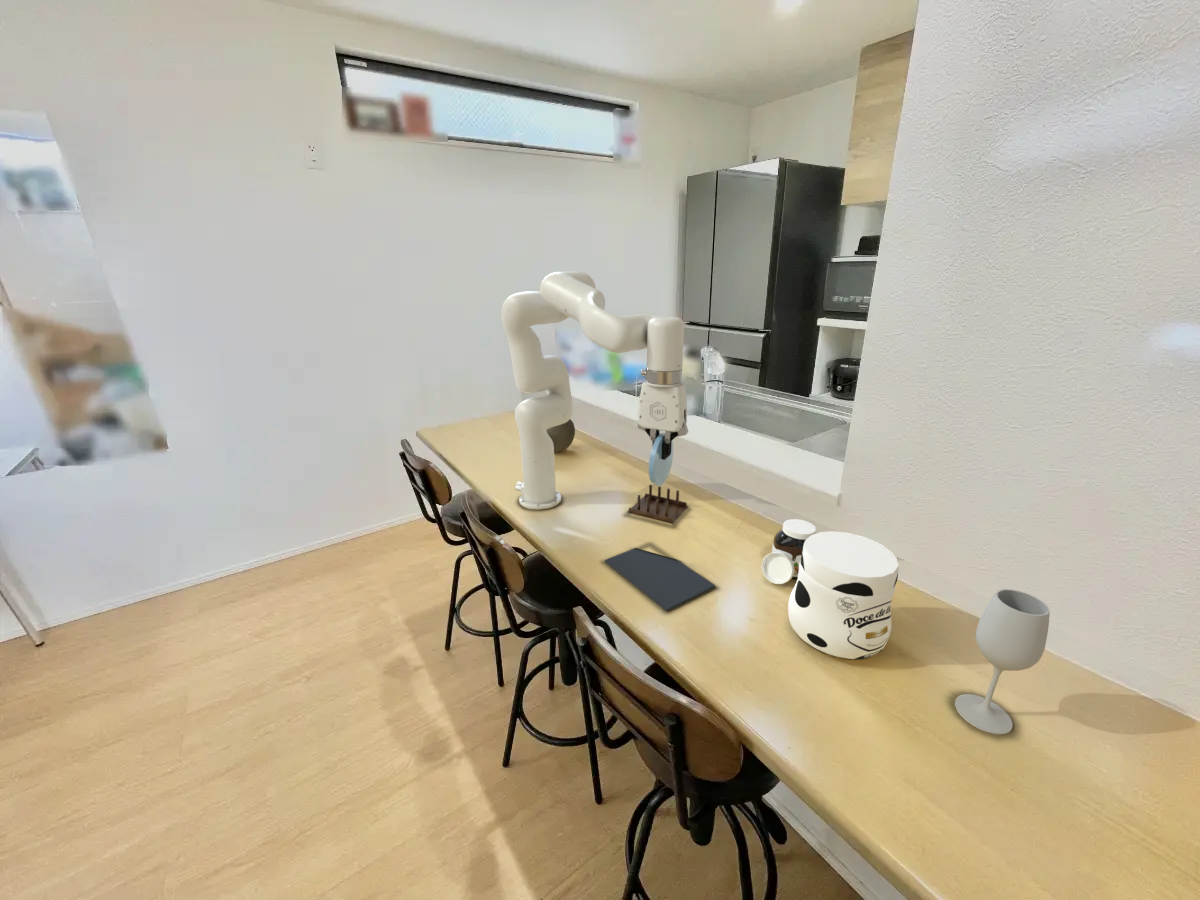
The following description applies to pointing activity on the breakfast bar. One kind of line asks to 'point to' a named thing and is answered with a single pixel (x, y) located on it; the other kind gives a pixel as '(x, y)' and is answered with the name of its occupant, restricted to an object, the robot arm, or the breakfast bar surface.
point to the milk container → (844, 595)
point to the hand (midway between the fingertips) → (661, 456)
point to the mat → (660, 577)
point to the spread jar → (787, 551)
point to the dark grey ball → (562, 435)
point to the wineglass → (1005, 651)
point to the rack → (659, 506)
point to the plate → (659, 462)
